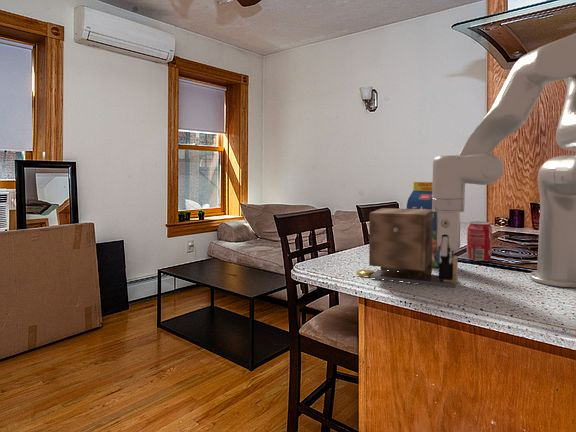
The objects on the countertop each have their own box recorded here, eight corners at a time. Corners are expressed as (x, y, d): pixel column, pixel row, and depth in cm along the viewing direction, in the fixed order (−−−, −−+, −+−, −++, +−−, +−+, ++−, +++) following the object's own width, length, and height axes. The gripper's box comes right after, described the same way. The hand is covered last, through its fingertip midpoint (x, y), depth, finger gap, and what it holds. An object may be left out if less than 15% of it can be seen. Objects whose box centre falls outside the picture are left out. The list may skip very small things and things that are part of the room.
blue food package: (436, 268, 118) (438, 182, 115) (405, 261, 128) (406, 182, 125) (450, 265, 121) (452, 182, 118) (419, 258, 131) (420, 181, 129)
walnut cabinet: (431, 274, 112) (433, 209, 110) (423, 287, 99) (425, 215, 97) (381, 269, 118) (381, 208, 116) (368, 281, 106) (368, 213, 104)
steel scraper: (457, 280, 105) (458, 254, 104) (455, 288, 98) (456, 260, 98) (377, 273, 114) (377, 248, 113) (370, 279, 108) (370, 253, 107)
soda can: (483, 257, 131) (485, 220, 129) (495, 262, 124) (497, 223, 122) (462, 258, 130) (463, 221, 129) (473, 263, 123) (474, 224, 122)
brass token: (376, 274, 114) (376, 270, 113) (372, 279, 109) (372, 274, 109) (359, 273, 116) (359, 268, 116) (354, 277, 111) (354, 273, 111)
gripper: (461, 209, 91) (459, 287, 94) (466, 203, 106) (464, 271, 108) (427, 208, 95) (425, 284, 97) (436, 202, 109) (435, 268, 111)
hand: (446, 276), depth 102 cm, fingers closed on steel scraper, 3 cm apart
